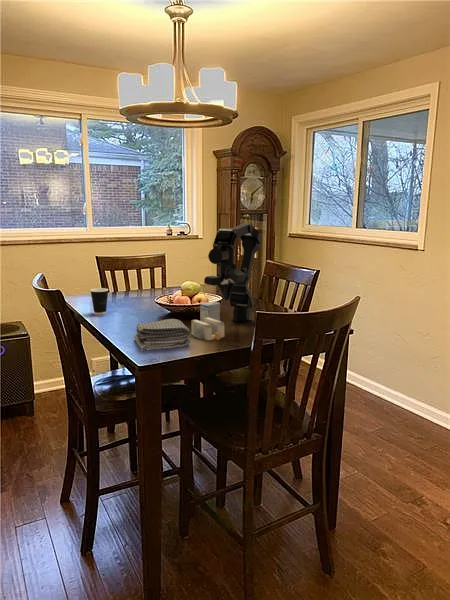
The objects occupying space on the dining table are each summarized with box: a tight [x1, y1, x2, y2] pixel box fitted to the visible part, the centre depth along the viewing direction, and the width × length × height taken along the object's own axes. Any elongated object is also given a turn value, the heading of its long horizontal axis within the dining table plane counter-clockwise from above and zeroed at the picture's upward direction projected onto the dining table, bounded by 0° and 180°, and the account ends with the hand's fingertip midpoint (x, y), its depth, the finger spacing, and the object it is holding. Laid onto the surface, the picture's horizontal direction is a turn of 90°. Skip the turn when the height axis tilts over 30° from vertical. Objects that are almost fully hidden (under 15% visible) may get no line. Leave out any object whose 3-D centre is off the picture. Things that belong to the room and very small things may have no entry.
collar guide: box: [190, 317, 225, 341], centre depth 172 cm, size 8×12×6 cm
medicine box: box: [199, 301, 221, 322], centre depth 191 cm, size 8×4×9 cm, turn 141°
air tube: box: [193, 323, 218, 340], centre depth 173 cm, size 10×4×4 cm, turn 129°
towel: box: [133, 318, 191, 351], centre depth 163 cm, size 15×18×8 cm
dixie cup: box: [89, 287, 109, 316], centre depth 205 cm, size 8×8×11 cm
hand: (226, 300), depth 181 cm, fingers closed
